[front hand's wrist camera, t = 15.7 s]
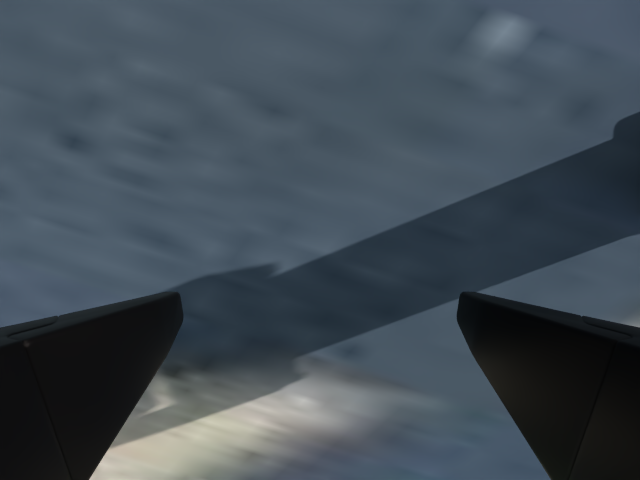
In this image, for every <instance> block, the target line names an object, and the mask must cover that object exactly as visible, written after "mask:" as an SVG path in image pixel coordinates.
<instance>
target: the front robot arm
mask: <svg viewBox="0 0 640 480" xmlns="http://www.w3.org/2000/svg"><path fill="white" fill-rule="evenodd" d="M182 322H183V310H182V304H181V297H180V294H179V293H178V292H163V293H159V294H154V295H150V296H145V297H141V298H136V299H132V300H127V301H123V302H118V303H114V304H109V305H105V306H100V307H96V308H91V309H87V310H82V311H78V312H73V313H69V314H64V315H60V316H59V317H58V316H53V317H49V318H44V319H39V320H35V321H30V322H25V323H21V324H16V325H11V326H6V327H1V328H0V480H89V479H90V477H91V476H92V474H93V472H94V471H95V469H96V468H97V466H98V464H99V463H100V461H101V460H102V458H103V456H104V455H105V453H106V452H107V450H108V449H109V447H110V445H111V444H112V442H113V441H114V439H115V437H116V436H117V434H118V433H119V431H120V430H121V428H122V426H123V425H124V423H125V422H126V420H127V418H128V417H129V415H130V414H131V412H132V410H133V409H134V407H135V406H136V404H137V403H138V401H139V399H140V398H141V396H142V395H143V393H144V391H145V390H146V388H147V387H148V385H149V384H150V382H151V380H152V379H153V377H154V376H155V374H156V372H157V371H158V369H159V368H160V366H161V364H162V363H163V361H164V360H165V358H166V356H167V354H168V352H169V350H170V348H171V346H172V344H173V342H174V340H175V338H176V335H177V333H178V331H179V329H180V327H181V325H182ZM457 322H458V325H459V327H460V329H461V331H462V333H463V335H464V338H465V340H466V342H467V344H468V346H469V348H470V350H471V352H472V354H473V356H474V358H475V360H476V361H477V363H478V364H479V366H480V368H481V369H482V371H483V372H484V374H485V376H486V377H487V379H488V380H489V382H490V383H491V385H492V387H493V388H494V390H495V391H496V393H497V395H498V396H499V398H500V399H501V401H502V403H503V404H504V406H505V407H506V409H507V410H508V412H509V414H510V415H511V417H512V418H513V420H514V422H515V423H516V425H517V426H518V428H519V429H520V431H521V433H522V434H523V436H524V437H525V439H526V441H527V442H528V444H529V445H530V447H531V449H532V450H533V452H534V453H535V455H536V456H537V458H538V460H539V461H540V463H541V464H542V466H543V468H544V469H545V471H546V472H547V474H548V476H549V477H550V479H551V480H640V328H639V327H634V326H629V325H624V324H619V323H615V322H610V321H605V320H601V319H596V318H591V317H587V316H582V317H581V316H580V315H576V314H571V313H567V312H562V311H558V310H553V309H549V308H544V307H540V306H535V305H531V304H526V303H522V302H517V301H513V300H508V299H504V298H499V297H495V296H490V295H486V294H481V293H477V292H462V293H461V294H460V297H459V304H458V310H457Z"/></svg>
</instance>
